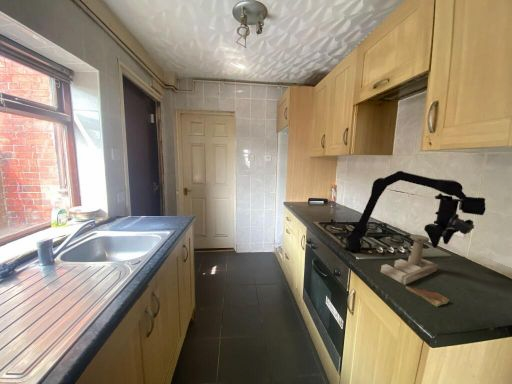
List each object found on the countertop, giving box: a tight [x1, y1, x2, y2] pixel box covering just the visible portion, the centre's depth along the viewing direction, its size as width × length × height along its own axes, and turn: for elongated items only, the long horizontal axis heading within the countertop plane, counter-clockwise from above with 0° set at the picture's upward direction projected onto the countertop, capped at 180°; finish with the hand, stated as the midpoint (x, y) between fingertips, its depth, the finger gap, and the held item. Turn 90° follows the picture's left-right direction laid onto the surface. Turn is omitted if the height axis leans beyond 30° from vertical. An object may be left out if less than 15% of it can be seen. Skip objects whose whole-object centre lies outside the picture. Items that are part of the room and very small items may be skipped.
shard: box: [404, 285, 450, 307], centre depth 78 cm, size 11×8×2 cm
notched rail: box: [380, 255, 438, 286], centre depth 93 cm, size 10×24×3 cm, turn 117°
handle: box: [409, 233, 430, 266], centre depth 95 cm, size 5×6×15 cm
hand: (440, 245), depth 92 cm, fingers open, 9 cm apart
